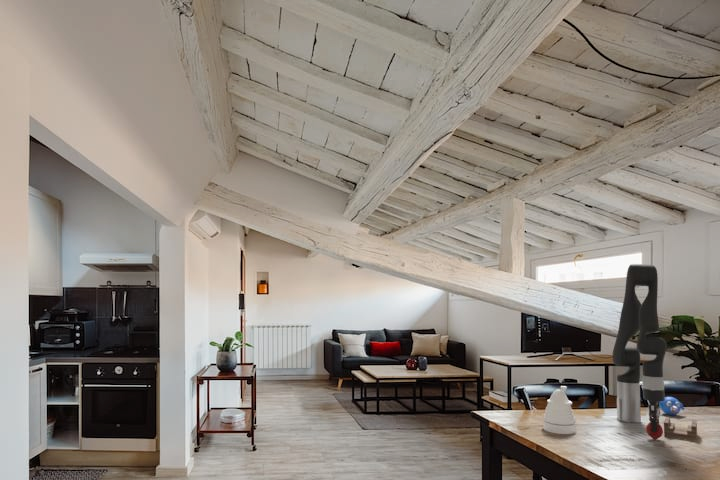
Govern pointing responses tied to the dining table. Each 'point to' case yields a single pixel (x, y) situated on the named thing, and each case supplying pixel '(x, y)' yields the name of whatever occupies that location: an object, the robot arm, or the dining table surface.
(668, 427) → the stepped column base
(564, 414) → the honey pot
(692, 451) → the dining table surface
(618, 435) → the dining table surface
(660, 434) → the pomegranate
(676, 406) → the blue mole toy
